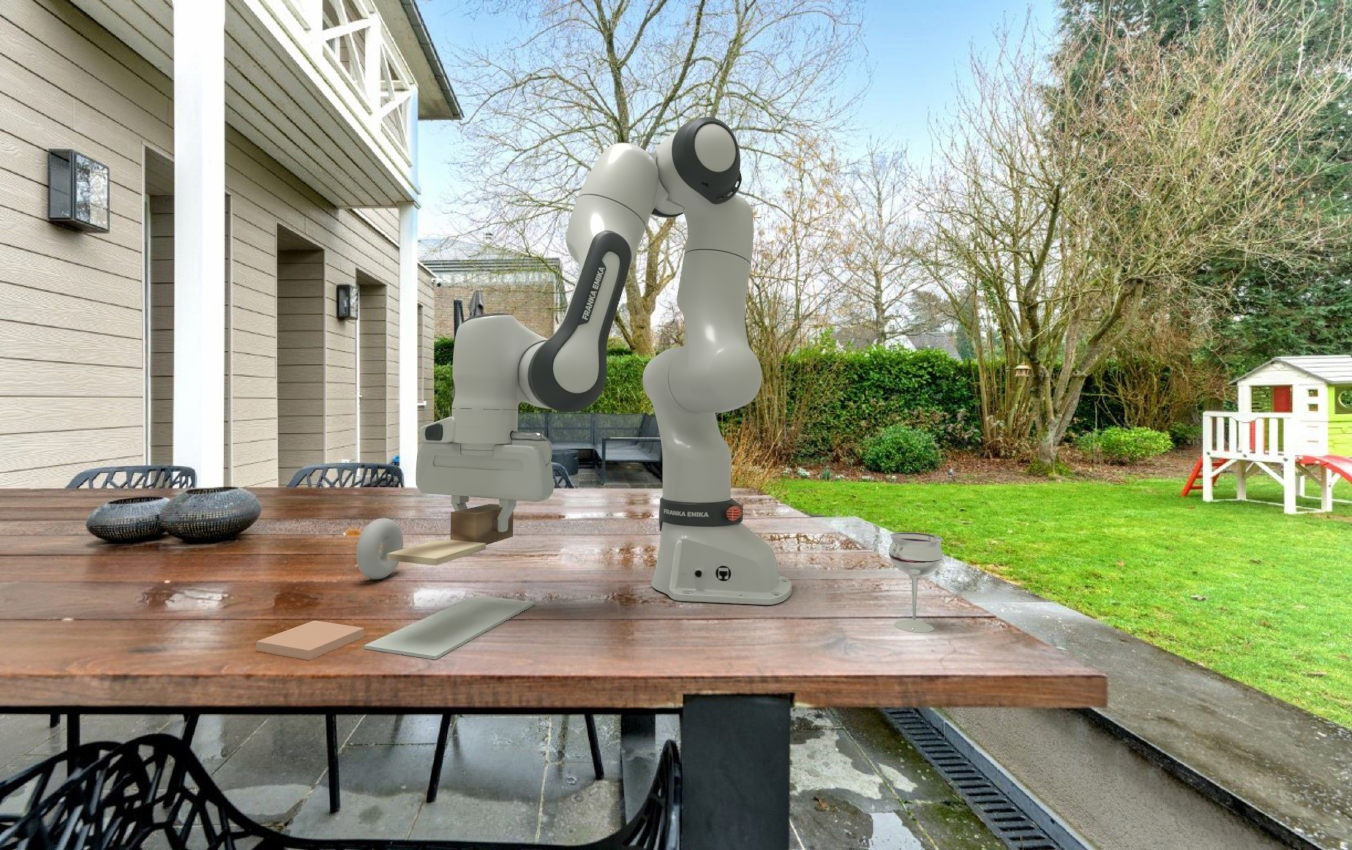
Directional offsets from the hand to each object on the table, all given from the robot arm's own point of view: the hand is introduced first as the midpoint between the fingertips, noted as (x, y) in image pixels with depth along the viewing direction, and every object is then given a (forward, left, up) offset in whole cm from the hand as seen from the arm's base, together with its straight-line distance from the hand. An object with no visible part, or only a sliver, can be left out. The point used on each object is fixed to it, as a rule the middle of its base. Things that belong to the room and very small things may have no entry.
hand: (482, 529), depth 91 cm
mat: (0, +6, -12) cm, 13 cm away
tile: (+12, +13, -11) cm, 21 cm away
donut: (+26, -9, -12) cm, 30 cm away
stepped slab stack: (0, +5, -2) cm, 5 cm away
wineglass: (-57, -14, -12) cm, 60 cm away
